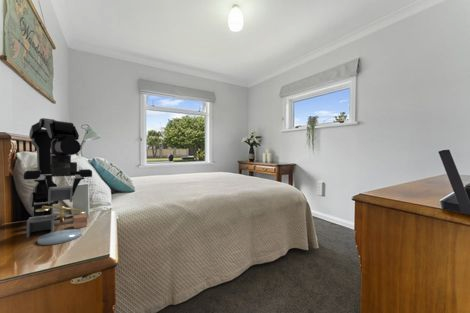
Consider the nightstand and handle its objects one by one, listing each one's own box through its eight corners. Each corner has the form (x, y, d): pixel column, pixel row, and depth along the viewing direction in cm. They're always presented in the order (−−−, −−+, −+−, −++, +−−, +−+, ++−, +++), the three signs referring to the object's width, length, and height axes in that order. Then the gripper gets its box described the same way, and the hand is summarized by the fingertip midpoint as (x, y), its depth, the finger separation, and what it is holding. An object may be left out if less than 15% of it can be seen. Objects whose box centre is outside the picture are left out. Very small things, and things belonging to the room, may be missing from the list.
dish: (53, 233, 71) (53, 230, 71) (88, 231, 73) (88, 228, 73) (27, 246, 61) (27, 242, 61) (69, 243, 63) (69, 240, 63)
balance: (34, 228, 76) (34, 207, 76) (35, 225, 80) (36, 205, 80) (86, 220, 86) (86, 202, 86) (85, 218, 90) (85, 200, 90)
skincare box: (88, 217, 91) (89, 184, 92) (71, 219, 88) (72, 184, 88) (89, 213, 98) (90, 182, 99) (73, 214, 95) (74, 183, 95)
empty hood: (29, 232, 72) (29, 217, 72) (54, 228, 77) (54, 214, 77) (26, 237, 67) (26, 221, 67) (53, 233, 72) (53, 218, 72)
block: (73, 226, 79) (73, 215, 79) (86, 224, 82) (86, 214, 82) (73, 228, 76) (73, 218, 76) (86, 226, 79) (87, 216, 79)
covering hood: (48, 201, 76) (48, 187, 76) (71, 199, 80) (71, 185, 80) (47, 204, 71) (48, 189, 71) (72, 201, 75) (72, 187, 75)
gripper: (22, 154, 63) (21, 204, 63) (94, 155, 76) (93, 197, 76) (26, 154, 72) (25, 199, 72) (90, 155, 84) (89, 193, 84)
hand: (60, 197), depth 75 cm, fingers closed on covering hood, 7 cm apart
